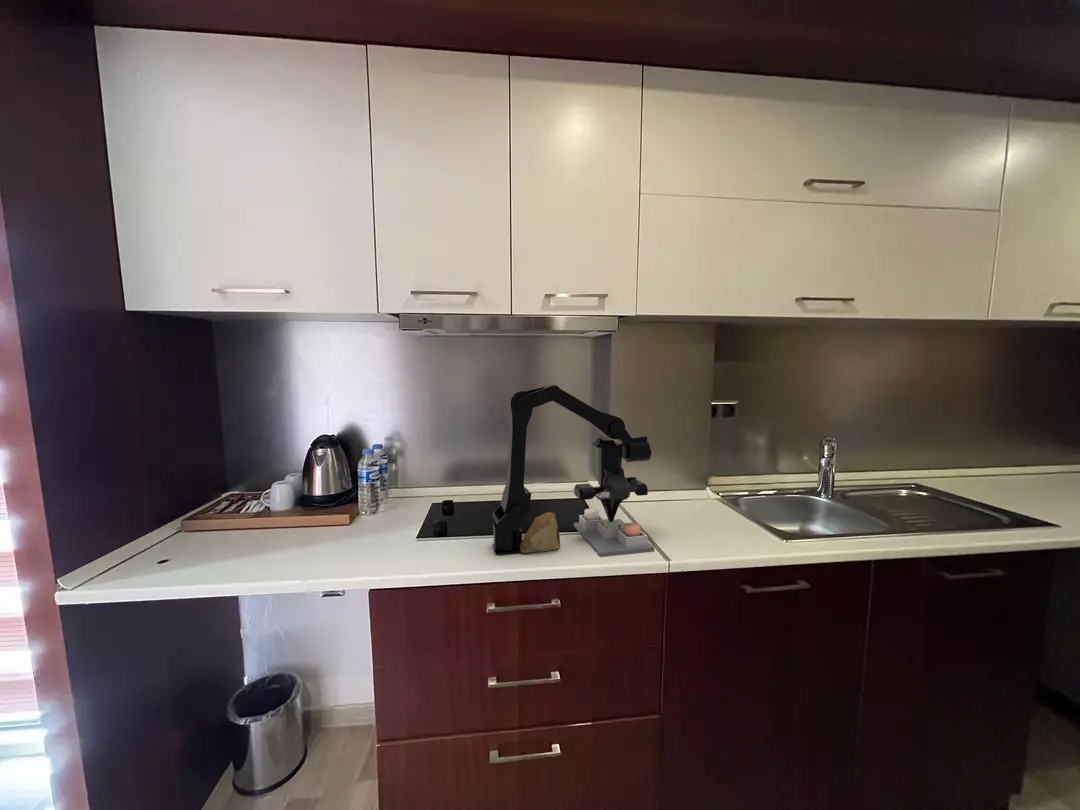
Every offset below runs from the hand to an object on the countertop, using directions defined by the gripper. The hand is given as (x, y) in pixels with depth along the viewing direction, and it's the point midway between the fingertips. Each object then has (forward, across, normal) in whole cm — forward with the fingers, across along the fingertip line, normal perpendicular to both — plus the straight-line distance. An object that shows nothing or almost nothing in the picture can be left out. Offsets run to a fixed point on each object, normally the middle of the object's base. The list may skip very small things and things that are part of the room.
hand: (610, 521), depth 120 cm
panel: (+4, 0, 0) cm, 4 cm away
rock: (+5, -20, -3) cm, 21 cm away
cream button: (+2, -3, +7) cm, 8 cm away
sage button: (+3, 0, 0) cm, 3 cm away
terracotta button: (+2, +3, -7) cm, 8 cm away
